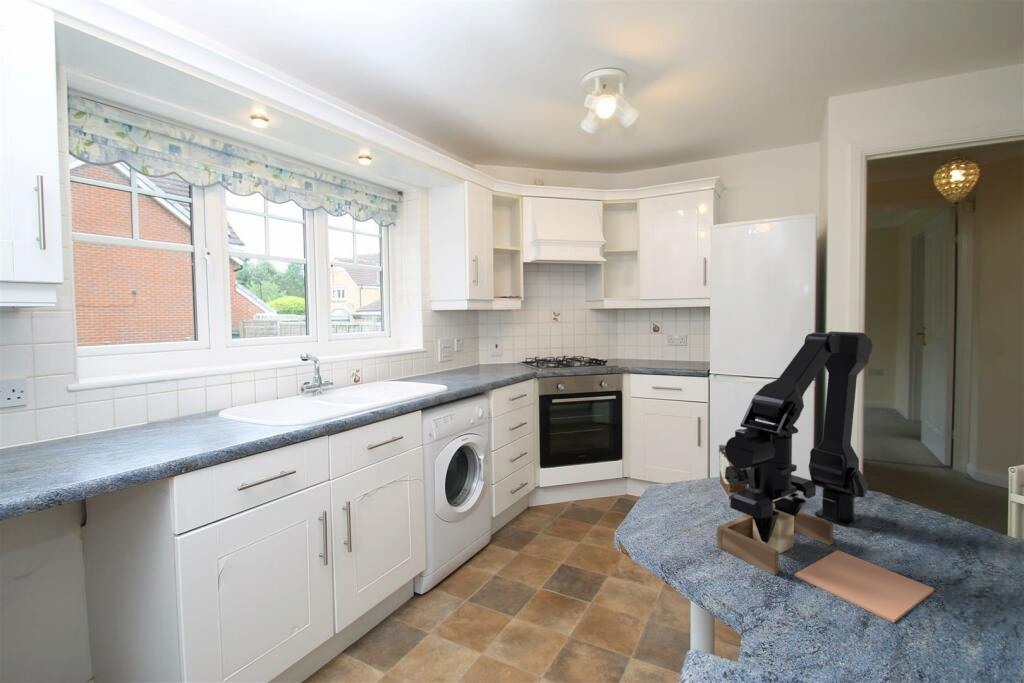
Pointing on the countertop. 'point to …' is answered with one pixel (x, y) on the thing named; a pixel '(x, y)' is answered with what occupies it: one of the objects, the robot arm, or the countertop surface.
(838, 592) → the mat
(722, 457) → the food container
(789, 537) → the maple block
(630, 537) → the countertop surface
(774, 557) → the open side box
